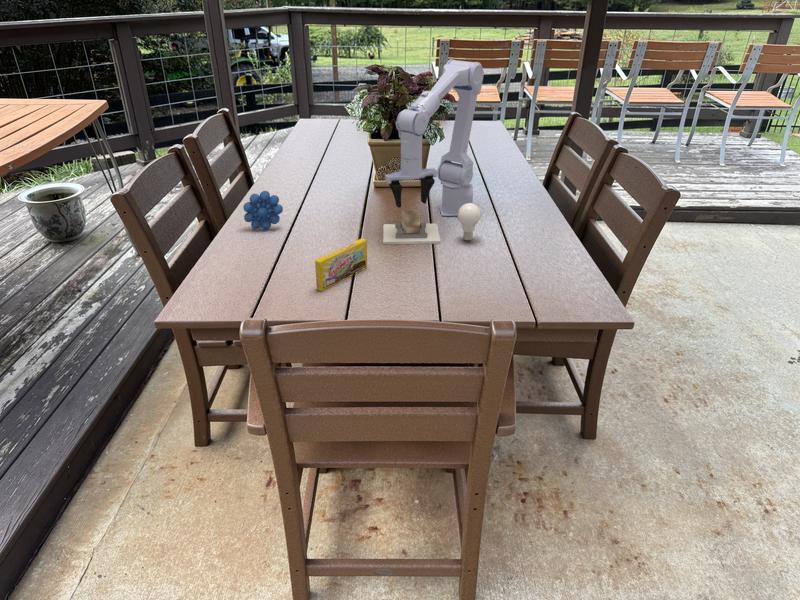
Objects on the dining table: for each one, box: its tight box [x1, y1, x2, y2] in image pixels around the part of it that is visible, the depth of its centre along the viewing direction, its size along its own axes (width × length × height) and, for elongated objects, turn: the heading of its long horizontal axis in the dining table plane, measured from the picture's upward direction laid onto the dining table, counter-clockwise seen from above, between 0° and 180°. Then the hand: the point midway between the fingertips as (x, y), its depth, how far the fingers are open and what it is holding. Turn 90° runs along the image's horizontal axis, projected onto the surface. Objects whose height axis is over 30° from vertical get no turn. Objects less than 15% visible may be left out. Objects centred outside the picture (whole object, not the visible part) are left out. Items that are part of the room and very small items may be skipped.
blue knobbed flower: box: [243, 190, 284, 231], centre depth 160 cm, size 12×7×12 cm, turn 91°
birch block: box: [401, 209, 421, 233], centre depth 157 cm, size 4×4×6 cm
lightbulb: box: [457, 202, 482, 242], centre depth 152 cm, size 6×6×11 cm
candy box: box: [314, 237, 368, 292], centre depth 135 cm, size 16×2×8 cm, turn 139°
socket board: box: [382, 222, 441, 245], centre depth 158 cm, size 16×12×2 cm
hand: (411, 204), depth 153 cm, fingers open, 7 cm apart
